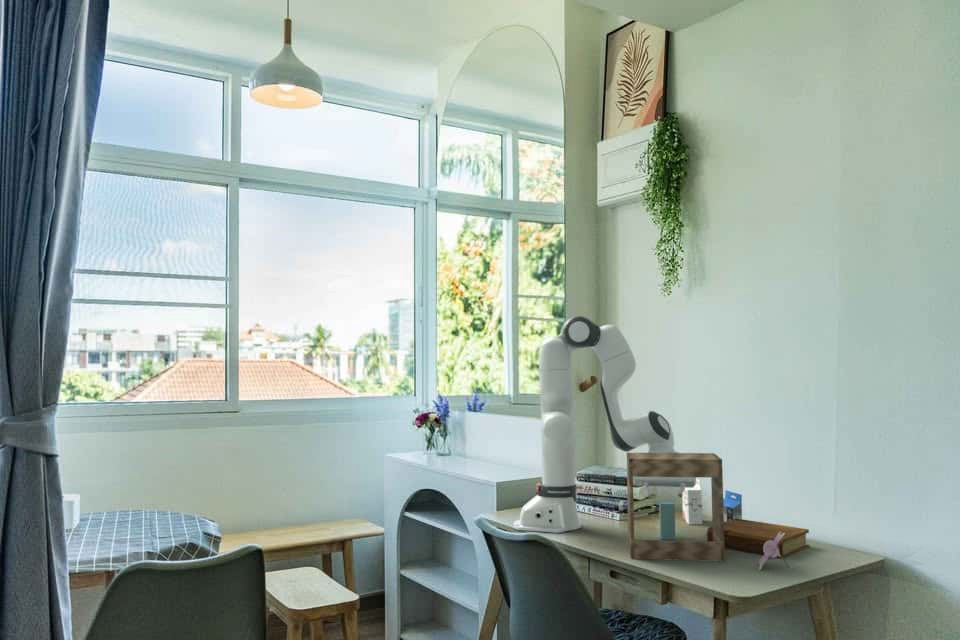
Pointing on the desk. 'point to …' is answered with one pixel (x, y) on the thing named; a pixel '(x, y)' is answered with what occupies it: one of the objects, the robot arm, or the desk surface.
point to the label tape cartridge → (732, 506)
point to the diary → (761, 537)
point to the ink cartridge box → (692, 504)
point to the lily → (771, 550)
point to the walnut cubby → (678, 468)
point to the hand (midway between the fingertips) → (665, 496)
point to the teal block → (667, 520)
